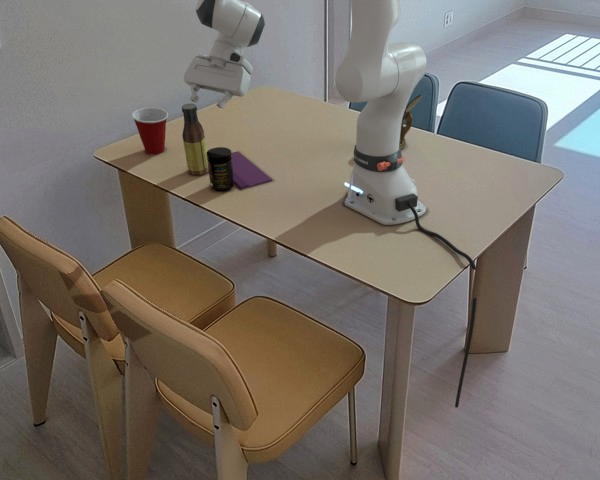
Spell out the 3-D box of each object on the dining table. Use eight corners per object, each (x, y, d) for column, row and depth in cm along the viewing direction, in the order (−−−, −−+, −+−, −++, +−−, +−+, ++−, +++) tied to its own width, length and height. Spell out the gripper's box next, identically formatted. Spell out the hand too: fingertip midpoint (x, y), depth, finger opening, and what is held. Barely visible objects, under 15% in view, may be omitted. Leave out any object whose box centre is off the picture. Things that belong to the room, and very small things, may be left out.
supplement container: (238, 189, 181) (235, 154, 175) (216, 195, 179) (212, 159, 173) (228, 179, 186) (225, 145, 180) (206, 185, 184) (202, 150, 177)
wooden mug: (407, 158, 195) (413, 99, 184) (370, 146, 202) (373, 89, 191) (423, 148, 201) (429, 90, 190) (385, 137, 207) (389, 80, 196)
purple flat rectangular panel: (272, 180, 185) (272, 178, 185) (240, 189, 181) (240, 187, 181) (238, 152, 200) (238, 150, 200) (208, 160, 196) (208, 158, 196)
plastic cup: (167, 159, 197) (161, 121, 190) (133, 157, 199) (126, 119, 192) (178, 144, 206) (172, 107, 199) (145, 142, 207) (138, 105, 200)
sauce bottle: (202, 164, 194) (194, 99, 182) (213, 171, 190) (206, 105, 178) (183, 171, 191) (174, 105, 179) (194, 178, 187) (186, 111, 175)
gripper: (189, 47, 186) (171, 92, 185) (248, 58, 177) (229, 105, 177) (201, 59, 192) (183, 102, 191) (258, 70, 183) (240, 115, 183)
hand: (206, 104), depth 184 cm, fingers open, 8 cm apart
